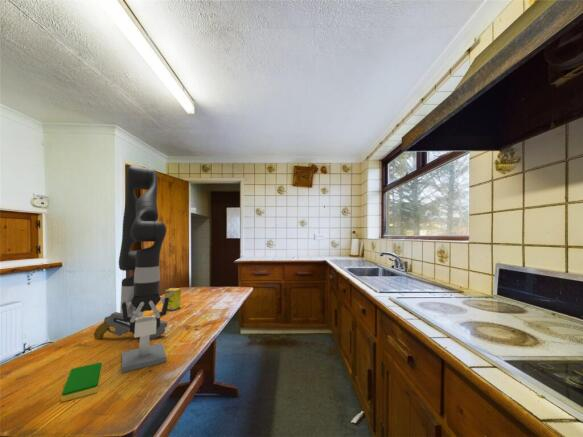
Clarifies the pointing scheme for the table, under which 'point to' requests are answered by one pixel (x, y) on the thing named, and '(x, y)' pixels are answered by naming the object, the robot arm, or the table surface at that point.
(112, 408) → the table surface
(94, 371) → the dish sponge
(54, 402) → the table surface
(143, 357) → the post stand
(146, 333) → the ring
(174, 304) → the supplement box
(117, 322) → the gun
